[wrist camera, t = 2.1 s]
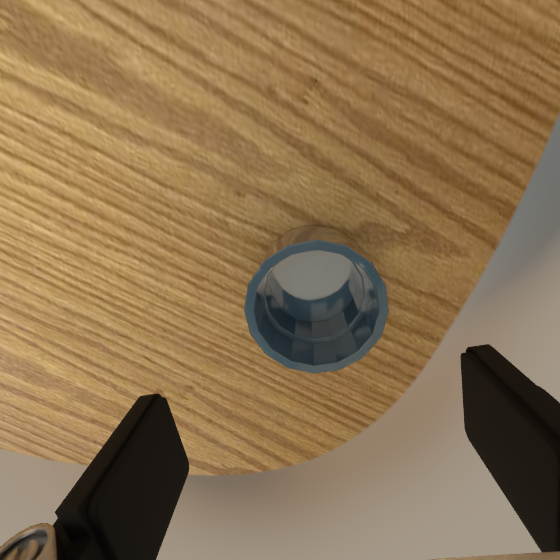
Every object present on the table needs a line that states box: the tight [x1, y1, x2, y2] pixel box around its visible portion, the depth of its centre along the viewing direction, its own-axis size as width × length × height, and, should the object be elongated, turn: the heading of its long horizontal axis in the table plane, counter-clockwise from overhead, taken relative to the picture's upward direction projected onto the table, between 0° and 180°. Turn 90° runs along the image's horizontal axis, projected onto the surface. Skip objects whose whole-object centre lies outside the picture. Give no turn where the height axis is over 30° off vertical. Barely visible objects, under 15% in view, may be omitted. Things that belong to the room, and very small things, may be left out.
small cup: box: [244, 225, 389, 373], centre depth 20 cm, size 7×7×6 cm
